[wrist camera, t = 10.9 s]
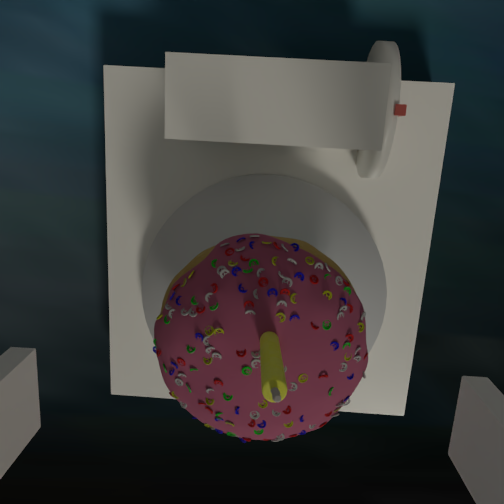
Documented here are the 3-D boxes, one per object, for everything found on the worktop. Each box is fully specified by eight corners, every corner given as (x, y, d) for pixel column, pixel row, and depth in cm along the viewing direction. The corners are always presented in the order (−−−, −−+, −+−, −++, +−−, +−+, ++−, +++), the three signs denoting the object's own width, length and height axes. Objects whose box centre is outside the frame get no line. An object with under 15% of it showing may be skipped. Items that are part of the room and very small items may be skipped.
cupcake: (198, 194, 22) (114, 267, 10) (374, 239, 22) (485, 360, 11) (162, 357, 24) (60, 566, 13) (323, 396, 24) (368, 640, 13)
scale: (127, 367, 29) (73, 454, 21) (123, 46, 24) (52, 6, 17) (390, 386, 28) (434, 482, 21) (437, 61, 24) (515, 28, 16)
